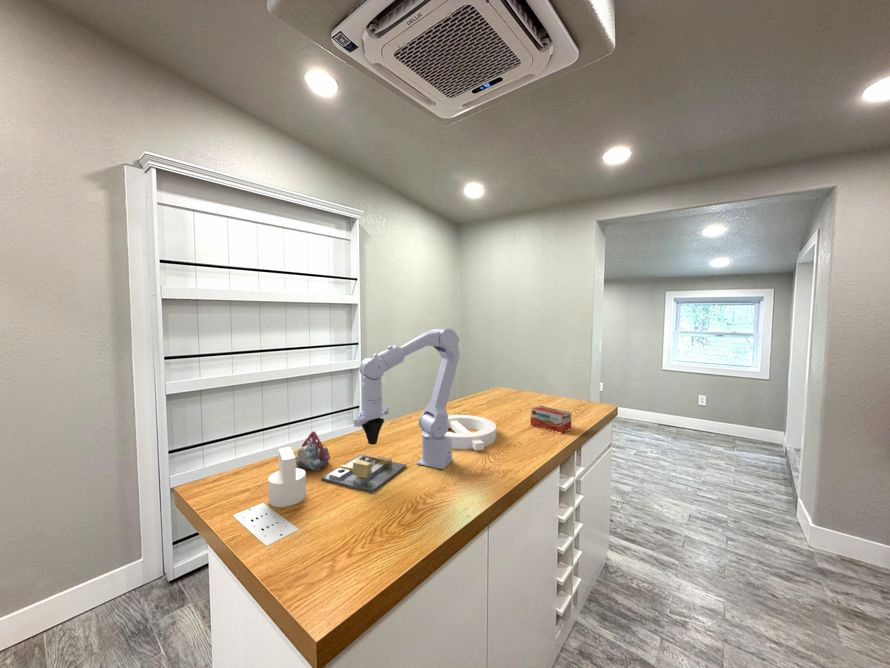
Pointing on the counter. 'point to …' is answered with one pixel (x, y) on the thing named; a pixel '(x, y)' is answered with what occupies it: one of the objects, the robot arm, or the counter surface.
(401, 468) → the grey mechanism base plate
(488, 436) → the white circle with bar
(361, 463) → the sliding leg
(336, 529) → the counter surface
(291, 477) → the base with upright slab
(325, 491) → the counter surface
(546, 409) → the medicine box
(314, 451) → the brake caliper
